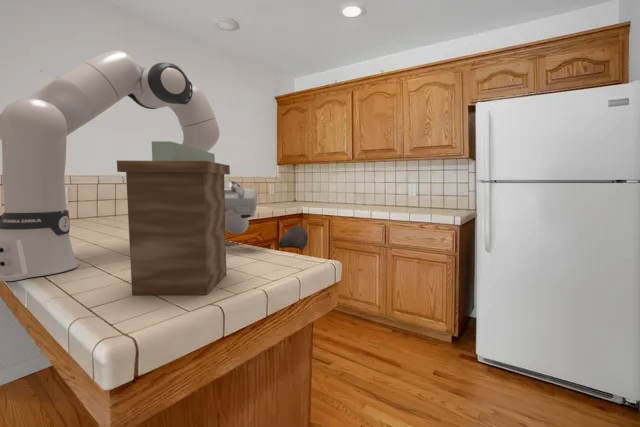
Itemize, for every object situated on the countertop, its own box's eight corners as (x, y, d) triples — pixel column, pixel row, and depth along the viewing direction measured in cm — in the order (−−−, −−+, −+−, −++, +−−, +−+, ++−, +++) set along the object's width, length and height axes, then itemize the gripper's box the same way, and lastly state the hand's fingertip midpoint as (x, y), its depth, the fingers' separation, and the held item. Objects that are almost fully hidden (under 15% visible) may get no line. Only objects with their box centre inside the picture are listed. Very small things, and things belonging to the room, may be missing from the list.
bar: (171, 160, 60) (170, 141, 59) (152, 160, 60) (151, 141, 59) (214, 167, 86) (214, 153, 85) (201, 167, 86) (201, 153, 85)
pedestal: (210, 296, 62) (206, 160, 60) (123, 296, 62) (116, 160, 60) (231, 273, 78) (229, 165, 76) (162, 273, 78) (158, 165, 76)
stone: (285, 262, 105) (307, 242, 103) (269, 242, 107) (291, 221, 105) (298, 260, 114) (319, 241, 112) (284, 241, 117) (304, 222, 114)
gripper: (196, 198, 107) (181, 175, 95) (260, 198, 108) (253, 176, 95) (193, 216, 105) (177, 195, 92) (259, 216, 105) (252, 195, 92)
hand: (216, 185), depth 94 cm, fingers open, 8 cm apart
